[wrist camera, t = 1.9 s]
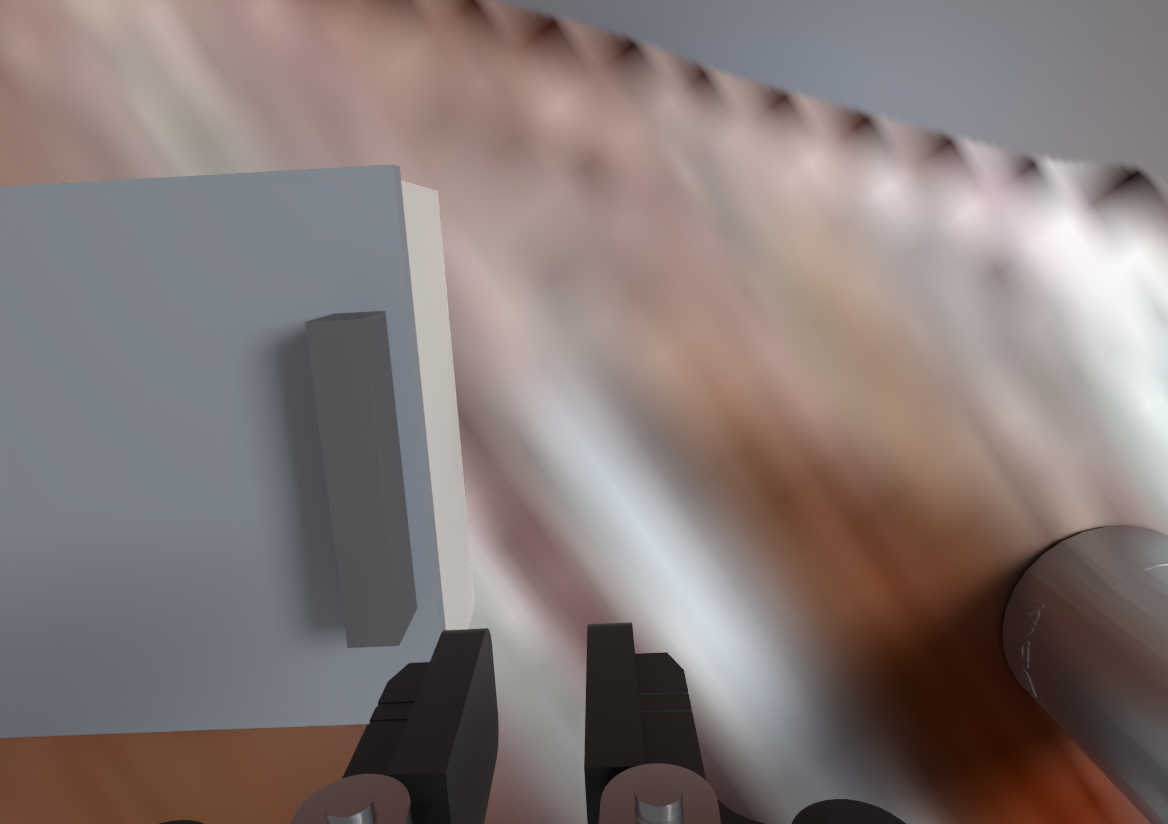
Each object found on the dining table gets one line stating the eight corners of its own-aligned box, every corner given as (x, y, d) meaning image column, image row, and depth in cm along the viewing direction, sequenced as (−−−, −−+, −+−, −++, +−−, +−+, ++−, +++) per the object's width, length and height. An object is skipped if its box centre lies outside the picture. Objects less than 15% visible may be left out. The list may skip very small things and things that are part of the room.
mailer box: (437, 191, 31) (393, 178, 24) (475, 606, 35) (446, 695, 28) (-52, 218, 32) (-229, 213, 25) (39, 624, 36) (-93, 716, 29)
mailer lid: (399, 167, 24) (369, 155, 21) (453, 707, 28) (435, 768, 25) (-251, 203, 25) (-378, 198, 21) (-107, 728, 29) (-196, 791, 25)
